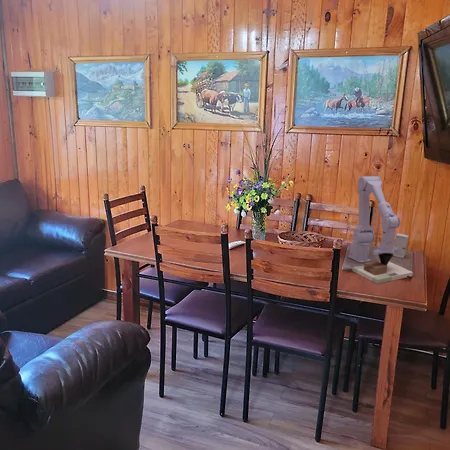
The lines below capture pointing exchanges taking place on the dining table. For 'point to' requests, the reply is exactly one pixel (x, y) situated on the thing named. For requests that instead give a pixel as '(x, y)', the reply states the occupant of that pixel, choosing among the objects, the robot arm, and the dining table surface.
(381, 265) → the walnut block
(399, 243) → the skincare box
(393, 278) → the board
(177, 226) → the dining table surface
